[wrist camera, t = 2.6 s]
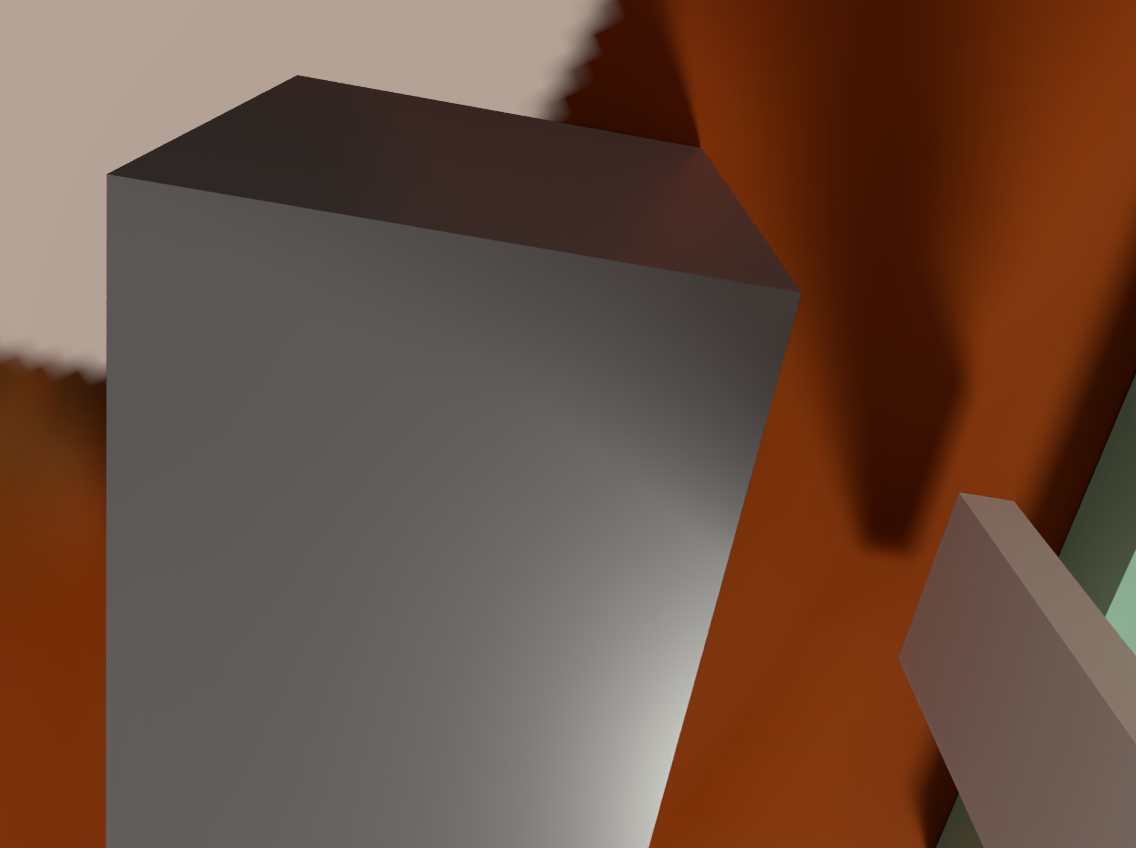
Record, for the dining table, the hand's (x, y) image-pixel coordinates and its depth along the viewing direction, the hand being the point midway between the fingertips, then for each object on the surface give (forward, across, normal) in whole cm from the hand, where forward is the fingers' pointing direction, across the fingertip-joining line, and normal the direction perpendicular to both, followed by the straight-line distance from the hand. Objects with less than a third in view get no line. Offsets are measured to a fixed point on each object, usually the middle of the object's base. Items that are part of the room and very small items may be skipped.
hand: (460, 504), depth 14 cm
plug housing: (+1, 0, +2) cm, 2 cm away
